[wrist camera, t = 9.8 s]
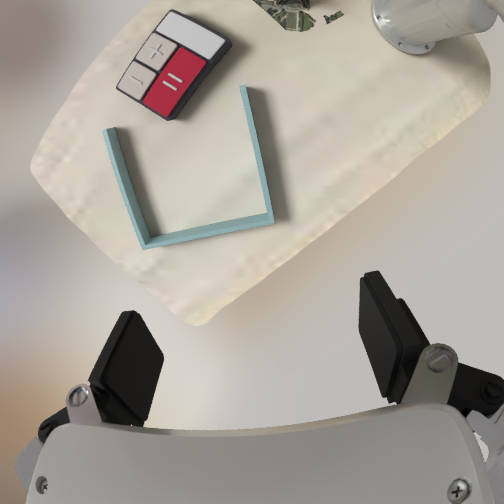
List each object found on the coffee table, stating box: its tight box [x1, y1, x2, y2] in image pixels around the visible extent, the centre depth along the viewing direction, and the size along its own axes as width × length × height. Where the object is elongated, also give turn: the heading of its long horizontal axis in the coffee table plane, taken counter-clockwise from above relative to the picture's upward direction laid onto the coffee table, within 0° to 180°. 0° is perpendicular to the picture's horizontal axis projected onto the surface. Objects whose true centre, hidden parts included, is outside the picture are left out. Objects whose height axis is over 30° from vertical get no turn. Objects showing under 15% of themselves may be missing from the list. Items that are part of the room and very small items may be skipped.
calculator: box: [116, 9, 232, 121], centre depth 32 cm, size 11×4×15 cm
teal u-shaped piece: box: [102, 85, 275, 250], centre depth 40 cm, size 23×21×3 cm
